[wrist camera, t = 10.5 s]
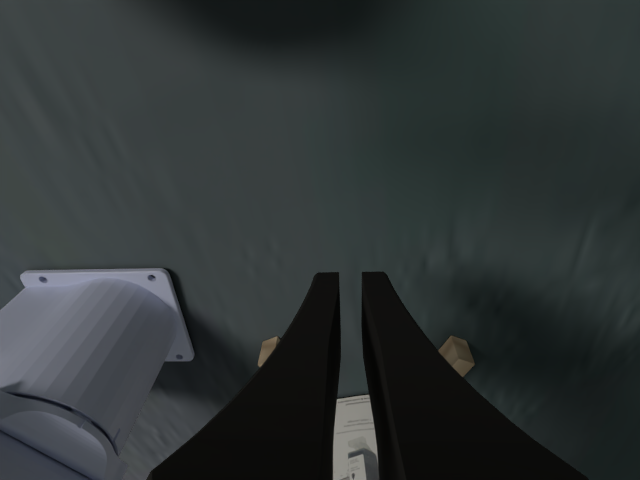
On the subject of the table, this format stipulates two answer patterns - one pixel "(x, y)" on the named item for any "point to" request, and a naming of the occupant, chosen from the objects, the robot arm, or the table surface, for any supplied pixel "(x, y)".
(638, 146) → the table surface
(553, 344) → the table surface
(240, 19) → the table surface
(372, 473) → the ink box
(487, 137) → the table surface
